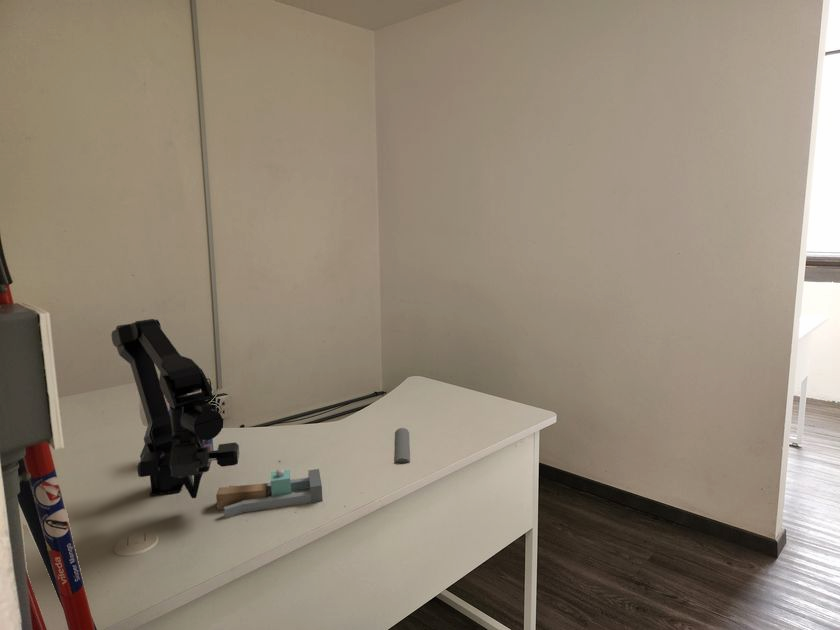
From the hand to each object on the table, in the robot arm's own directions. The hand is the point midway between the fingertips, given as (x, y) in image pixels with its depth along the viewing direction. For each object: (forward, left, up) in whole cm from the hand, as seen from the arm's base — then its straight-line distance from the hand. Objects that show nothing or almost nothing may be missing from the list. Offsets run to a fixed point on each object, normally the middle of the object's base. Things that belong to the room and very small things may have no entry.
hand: (194, 497), depth 113 cm
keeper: (+18, 0, -2) cm, 18 cm away
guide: (+17, 0, -3) cm, 17 cm away
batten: (+10, 0, -3) cm, 10 cm away
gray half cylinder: (+48, +18, -4) cm, 52 cm away
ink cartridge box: (-4, +30, -3) cm, 30 cm away
